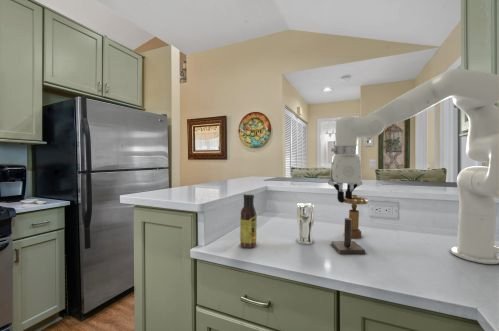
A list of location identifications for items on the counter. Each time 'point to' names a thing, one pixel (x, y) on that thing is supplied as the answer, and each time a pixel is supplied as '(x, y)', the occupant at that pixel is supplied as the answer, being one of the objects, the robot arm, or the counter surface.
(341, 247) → the peg stand
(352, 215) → the brown knobbed post
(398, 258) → the counter surface
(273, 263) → the counter surface
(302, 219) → the beer glass
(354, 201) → the ring
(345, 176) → the robot arm
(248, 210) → the sauce bottle
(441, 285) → the counter surface
